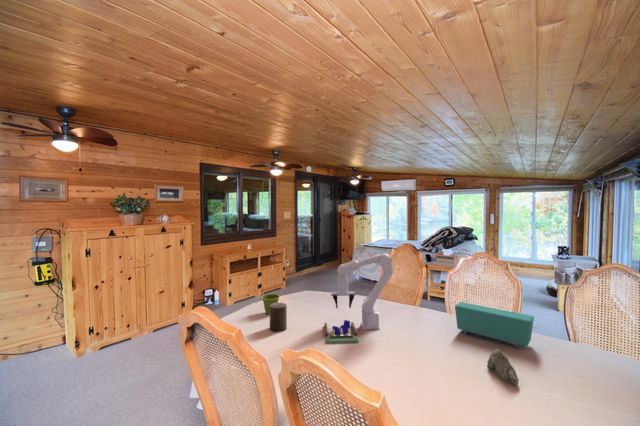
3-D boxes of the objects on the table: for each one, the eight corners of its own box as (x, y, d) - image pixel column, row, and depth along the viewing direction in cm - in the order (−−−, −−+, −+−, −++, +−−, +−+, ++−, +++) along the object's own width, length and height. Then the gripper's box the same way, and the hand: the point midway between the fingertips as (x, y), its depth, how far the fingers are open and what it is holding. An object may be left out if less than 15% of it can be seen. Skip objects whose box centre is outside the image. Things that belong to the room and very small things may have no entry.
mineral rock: (519, 390, 110) (519, 363, 109) (486, 381, 115) (486, 356, 115) (517, 373, 121) (517, 349, 120) (487, 366, 126) (487, 343, 126)
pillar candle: (275, 333, 162) (275, 306, 162) (266, 328, 169) (266, 302, 169) (290, 329, 168) (290, 303, 168) (280, 324, 176) (280, 299, 175)
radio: (534, 345, 144) (534, 315, 144) (531, 353, 137) (530, 321, 136) (460, 327, 167) (460, 300, 167) (454, 332, 160) (454, 305, 159)
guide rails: (353, 325, 172) (353, 322, 172) (356, 336, 157) (356, 333, 157) (324, 326, 171) (324, 322, 171) (325, 337, 156) (325, 333, 156)
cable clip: (343, 329, 166) (343, 319, 166) (350, 331, 164) (349, 321, 163) (330, 336, 157) (330, 325, 157) (336, 339, 154) (336, 328, 154)
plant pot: (259, 311, 196) (259, 295, 196) (277, 309, 201) (276, 292, 201) (264, 317, 186) (264, 300, 185) (282, 314, 191) (282, 297, 190)
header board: (356, 337, 156) (356, 328, 156) (358, 342, 150) (358, 333, 150) (326, 338, 155) (326, 328, 155) (326, 343, 149) (326, 333, 149)
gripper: (354, 282, 177) (354, 305, 177) (330, 283, 177) (330, 305, 177) (356, 285, 170) (356, 309, 170) (331, 286, 170) (331, 309, 170)
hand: (343, 307), depth 173 cm, fingers open, 7 cm apart
